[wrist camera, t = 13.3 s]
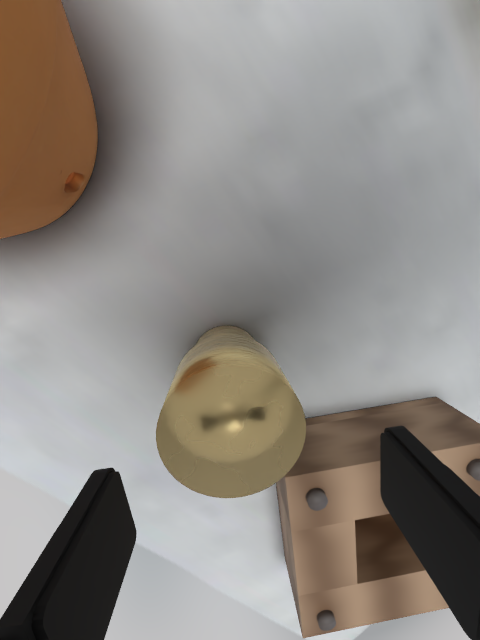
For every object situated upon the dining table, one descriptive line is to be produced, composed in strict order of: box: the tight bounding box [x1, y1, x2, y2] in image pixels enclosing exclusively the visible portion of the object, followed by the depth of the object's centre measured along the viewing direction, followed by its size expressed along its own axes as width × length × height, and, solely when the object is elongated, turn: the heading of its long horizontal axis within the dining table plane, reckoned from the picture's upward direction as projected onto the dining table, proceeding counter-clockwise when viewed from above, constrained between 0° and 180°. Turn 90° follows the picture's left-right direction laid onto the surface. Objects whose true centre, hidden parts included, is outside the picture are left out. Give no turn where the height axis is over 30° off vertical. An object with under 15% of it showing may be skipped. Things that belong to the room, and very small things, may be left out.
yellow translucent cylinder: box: [156, 326, 306, 498], centre depth 17 cm, size 7×7×10 cm
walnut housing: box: [276, 397, 480, 638], centre depth 23 cm, size 16×16×6 cm
